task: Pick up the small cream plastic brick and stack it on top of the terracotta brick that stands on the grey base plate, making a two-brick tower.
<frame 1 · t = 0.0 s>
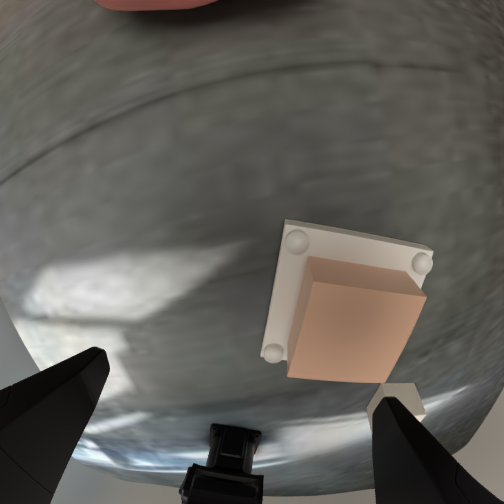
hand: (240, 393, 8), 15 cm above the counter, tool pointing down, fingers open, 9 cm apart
cream brick: (390, 395, 26), on the counter
base plate: (343, 300, 22), on the counter
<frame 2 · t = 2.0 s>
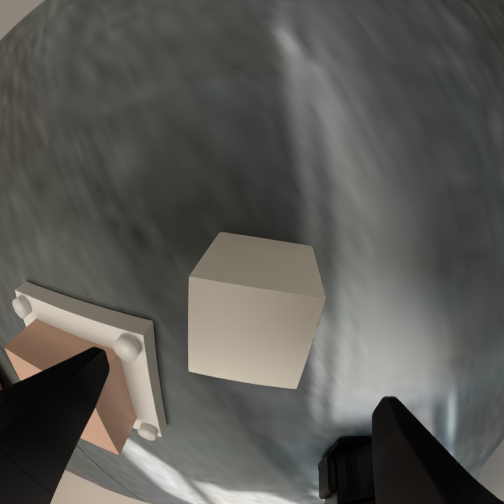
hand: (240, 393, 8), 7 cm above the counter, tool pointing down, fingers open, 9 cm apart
cream brick: (259, 279, 14), on the counter
base plate: (93, 361, 19), on the counter
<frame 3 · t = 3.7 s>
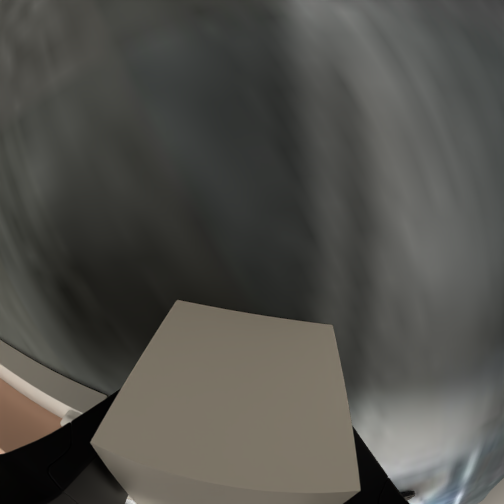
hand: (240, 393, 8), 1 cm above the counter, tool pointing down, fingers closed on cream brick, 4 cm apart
cream brick: (245, 369, 9), on the counter, touching gripper
base plate: (55, 416, 13), on the counter
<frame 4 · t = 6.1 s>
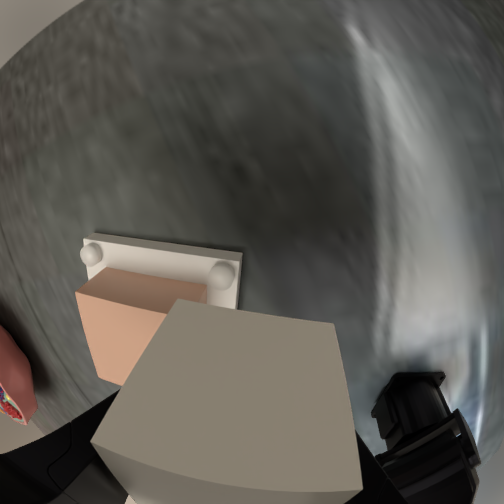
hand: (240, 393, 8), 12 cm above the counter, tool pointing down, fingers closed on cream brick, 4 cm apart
cell model: (15, 348, 29), on the counter
cream brick: (246, 368, 9), point 11 cm above the counter, touching gripper
base plate: (162, 311, 22), on the counter
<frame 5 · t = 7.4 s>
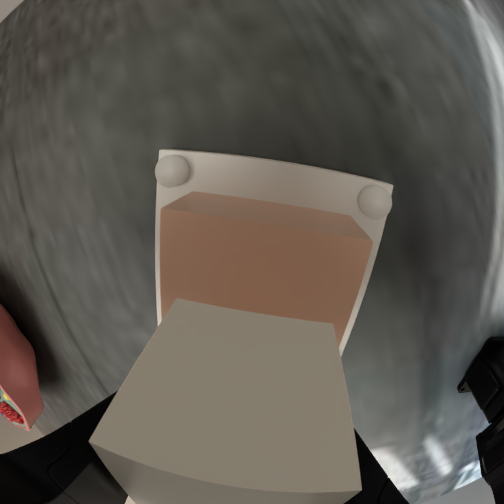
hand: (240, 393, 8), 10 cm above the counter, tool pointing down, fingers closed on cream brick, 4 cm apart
cell model: (15, 334, 24), on the counter
cream brick: (245, 368, 9), point 9 cm above the counter, touching gripper
base plate: (262, 264, 17), on the counter
when the fingers open (8 cm above the counter, at t = 8.5 s): cream brick drops 1 cm, resting on base plate.
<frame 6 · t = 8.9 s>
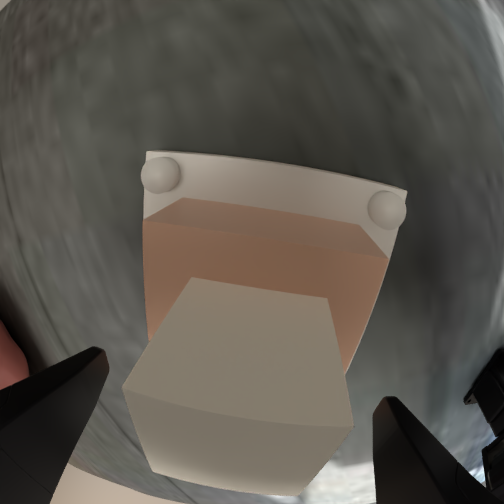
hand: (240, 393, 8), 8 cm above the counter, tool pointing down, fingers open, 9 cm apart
cell model: (8, 341, 22), on the counter
cream brick: (250, 341, 10), point 5 cm above the counter, touching base plate
base plate: (261, 276, 15), on the counter
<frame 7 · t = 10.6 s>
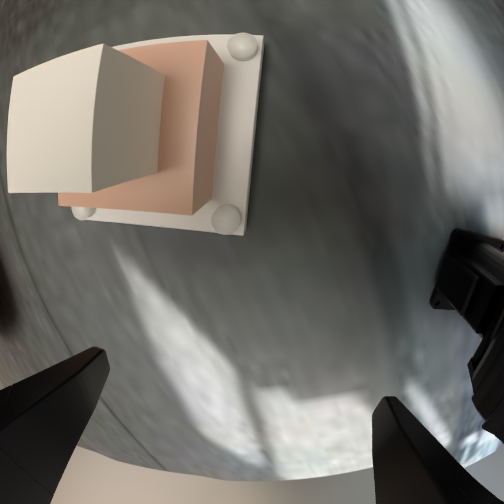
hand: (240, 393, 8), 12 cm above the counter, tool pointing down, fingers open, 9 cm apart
cream brick: (117, 125, 11), point 5 cm above the counter, touching base plate
base plate: (161, 129, 16), on the counter
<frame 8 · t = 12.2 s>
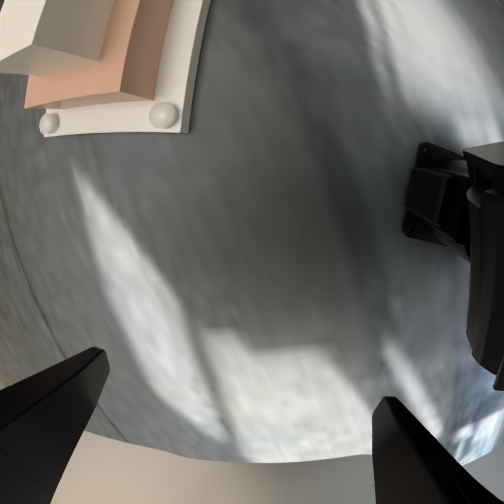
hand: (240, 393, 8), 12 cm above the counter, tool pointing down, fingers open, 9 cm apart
cream brick: (76, 35, 9), point 5 cm above the counter, touching base plate
base plate: (122, 55, 15), on the counter
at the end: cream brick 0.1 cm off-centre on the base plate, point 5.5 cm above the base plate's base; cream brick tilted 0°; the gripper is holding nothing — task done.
